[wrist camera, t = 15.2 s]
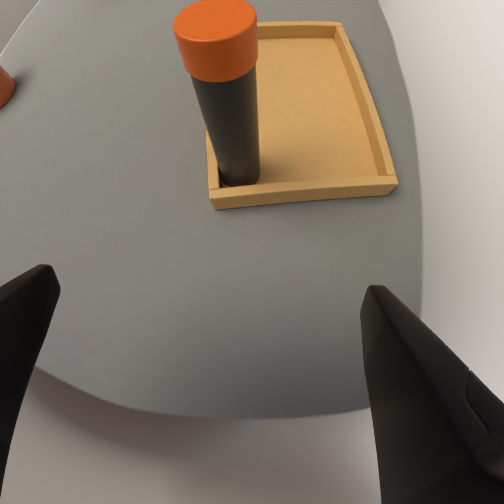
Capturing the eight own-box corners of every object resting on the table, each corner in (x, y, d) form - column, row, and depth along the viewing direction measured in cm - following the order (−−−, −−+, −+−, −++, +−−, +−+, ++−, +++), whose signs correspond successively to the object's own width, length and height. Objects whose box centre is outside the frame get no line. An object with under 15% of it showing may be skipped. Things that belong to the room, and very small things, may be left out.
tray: (387, 195, 19) (398, 184, 17) (214, 210, 20) (209, 199, 18) (337, 37, 22) (340, 22, 20) (207, 44, 22) (203, 28, 20)
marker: (264, 189, 19) (261, 35, 7) (221, 194, 19) (169, 48, 7) (259, 152, 20) (252, -8, 8) (218, 156, 20) (174, 3, 8)
